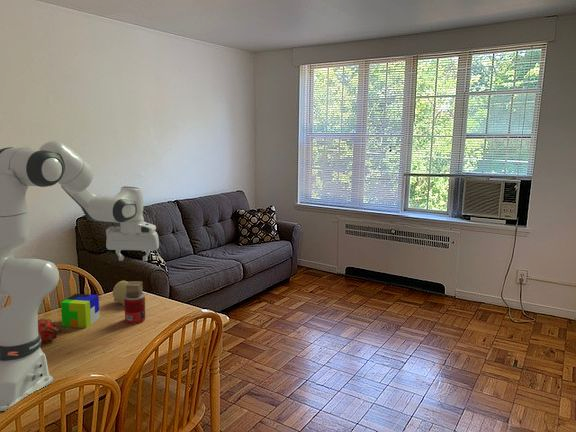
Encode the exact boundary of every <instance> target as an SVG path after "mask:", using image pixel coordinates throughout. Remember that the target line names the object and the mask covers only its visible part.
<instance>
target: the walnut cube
mask: <svg viewBox="0 0 576 432" xmlns="http://www.w3.org/2000/svg"><path fill="white" fill-rule="evenodd" d="M128 282H129V283H128V284H127V285H126V297H140V296H141V294H142V293H144V292H143V281H137V280H136V281H134V280H133V281H130V280H129V281H128Z"/></svg>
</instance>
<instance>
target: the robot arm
mask: <svg viewBox="0 0 576 432" xmlns="http://www.w3.org/2000/svg"><path fill="white" fill-rule="evenodd" d="M93 178H94V170H93V168H92V167H91V165H90V164H89V163H88V162H87V160H85V159H84V158H83V157H82V156H80V154H79V153H77V152H76V151H75V150H73V149H72V148H71V147H69V146H68V145H66V144H65V143H62V142H61V141H57V140H52V141H51V140H50V141H48V142H45V143H44V144H42V145H41V146H40V147H39V149H35V148H30V147H14V146H9V147H3V148H0V296H5V297H7V296H8V297H10V304H9V305H7V306H5V307H3V308H1V309H0V412H2V411H3V412H5V411H8V410H7V409H8V408H10V407H11V406H13V405H14V404H16V403H17V402H19V401H20V400H21V399H23V398H24V397H26V396H28V395H29V394H31V393H33V392H34V391H36V390H39V389H41V388H43V387H44V388H46V387H47V386H48V385H49V384H50V383H52V382H53V381H54V377H53V376H52V374H50V372H49V367H48V361H47V357H46V354H45V353H44V351H43V350H42V348H41V346H42V341H41V337H40V333H39V332H38V320H39V309H40V307H41V304H42V303H43V300H44V299H45V297H47V296H48V295H50V294H51V293H52V292H53V291H54V290H55V289H56V287H57V285H58V284H59V281H60V271H59V269H58V267H57V265H55V263H54V262H51V261H48V260H45V259H39V258H20V257H19V258H18V257H15V256H14V252H15V248H18V247H20V246H22V245H24V244H25V242H26V241H27V240H28V239H29V237H30V234H31V233H30V223H29V222H30V221H29V215H28V207H27V206H28V205H27V199H26V193H27V190H28V188H29V187H40V188H46V187H51V186H54V185H56V184H57V183H58V184H59V185H60V186H61V188H62V190H63V191H64V192H65V193H66V195H68V196H69V197H70V198H71V199H72V200H73V201H74V202H75V203H76V204H77V205H78V206H79V207H80V208H81V210H82V212H83V214H84V216H85V217H86V219H88V220H89V221H92V222H109V223H116V224H117V223H119V224H120V225H119V226H113V225H112V226H109V227H107V228H106V229H105V235H106V241H105V243H106V244H105V245H106V246H105V248H106V249H107V250H109V251H115V253H116V255H117V257H118V261H120V262H121V261H123V262H124V260H125V256H124V255H123V254H122V253H121V251H144V252H145V255H143V256H142V261H143V262H147V261H148V260H149V259H148V257H149V255H150V253H151V251H152V252H153V251H157V250H158V249H159V247H160V239H159V234H158V232H157V231H156V230H157V226H156V225H155V224H152V223H149V222H146V221H145V218H144V215H143V213H144V197H143V196H144V195H143V192H142V189H141V188H139V187H135V186H128V185H127V186H125V185H124V186H122V187H121V188H120V191H119V192H118V193H117V194H115V195H114V196H107V195H106V196H105V195H101V194H100V195H99V194H95V193H92V192H91V190H89V187H90V185H91V184H92V181H93ZM45 386H46V387H45ZM44 388H43V389H44Z"/></svg>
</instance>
